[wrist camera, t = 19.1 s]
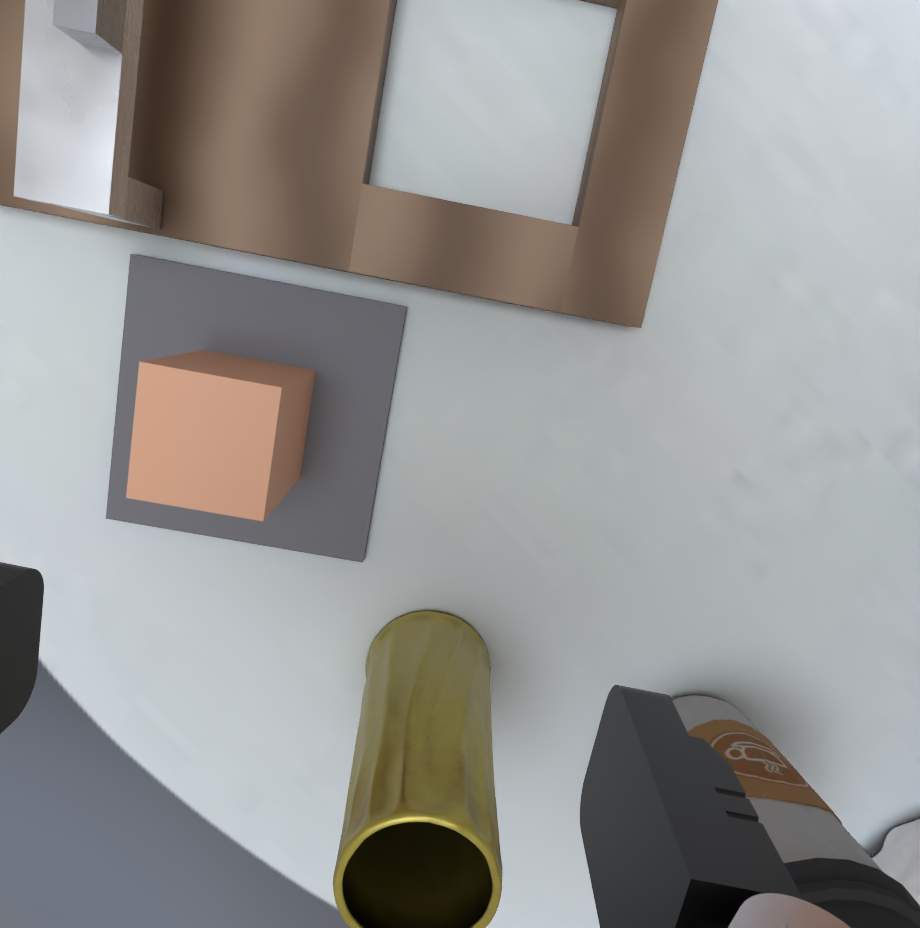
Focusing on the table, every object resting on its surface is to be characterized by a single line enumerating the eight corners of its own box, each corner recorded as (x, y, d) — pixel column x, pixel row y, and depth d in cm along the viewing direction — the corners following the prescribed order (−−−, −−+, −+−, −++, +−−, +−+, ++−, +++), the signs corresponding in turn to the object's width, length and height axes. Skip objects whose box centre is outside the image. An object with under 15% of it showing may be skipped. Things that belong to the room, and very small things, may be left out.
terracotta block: (315, 370, 33) (281, 387, 26) (300, 477, 34) (263, 521, 27) (203, 349, 33) (139, 361, 26) (190, 458, 34) (125, 497, 27)
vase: (499, 710, 37) (531, 952, 23) (380, 732, 37) (341, 986, 24) (477, 598, 36) (497, 784, 22) (353, 622, 36) (296, 821, 22)
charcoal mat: (406, 306, 33) (406, 306, 33) (364, 558, 36) (362, 562, 35) (135, 254, 32) (130, 254, 32) (110, 515, 35) (105, 518, 34)
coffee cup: (793, 688, 37) (1016, 937, 23) (744, 830, 39) (923, 1146, 24) (633, 657, 37) (757, 890, 22) (591, 802, 39) (680, 1108, 24)
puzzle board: (720, -68, 30) (739, -93, 28) (629, 326, 33) (641, 327, 31) (20, -226, 29) (-11, -264, 27) (-4, 203, 32) (-33, 197, 30)
